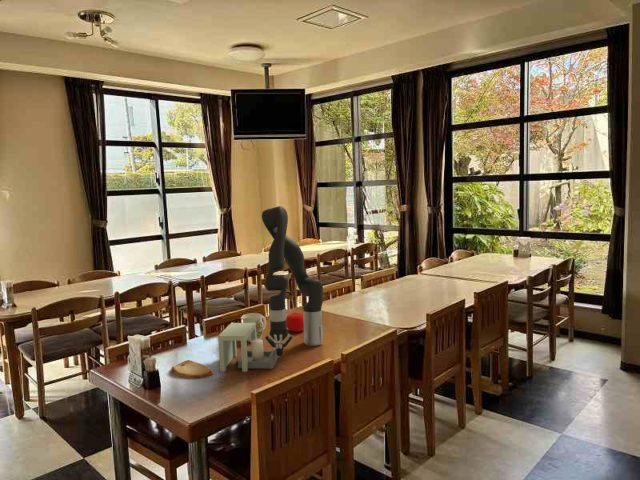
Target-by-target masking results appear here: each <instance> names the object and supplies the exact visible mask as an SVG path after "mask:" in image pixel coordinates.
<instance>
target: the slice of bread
mask: <svg viewBox="0 0 640 480" xmlns="http://www.w3.org/2000/svg"><path fill="white" fill-rule="evenodd" d="M170 373H171V374H172V375H173V376H175V377H177V378H178V377H179V378H182V379H183V378H184V379H191V380H198V379H206V378H210V377H212V376H213V375H214V373H213V371H212V368H210V367H208V366H206V365H205V364H202V363H200V362H197V361H193V360H190V359H188V360H184V361H182V362H180V363H177V364H176V365H175V366H172V367H171V370H170Z"/></svg>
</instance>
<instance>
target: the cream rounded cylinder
mask: <svg viewBox="0 0 640 480" xmlns="http://www.w3.org/2000/svg"><path fill="white" fill-rule="evenodd" d="M263 342H264V341H263V339H262V338H260V339H255V340H252V341H251V342H250V351H252V361H264V351H265V350H264V343H263Z"/></svg>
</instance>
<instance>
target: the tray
mask: <svg viewBox="0 0 640 480" xmlns="http://www.w3.org/2000/svg"><path fill="white" fill-rule="evenodd" d="M279 357H280V356H278V355H277V353H276V348H275V347H273V349H272V350H264V361H252V350H247V359H248V369H270V370H272V369H273V368H274V367H275V364H276V363H277V360H278V359H279ZM237 368H238V369H242V356H241V357H239V359H238V361H237Z"/></svg>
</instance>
